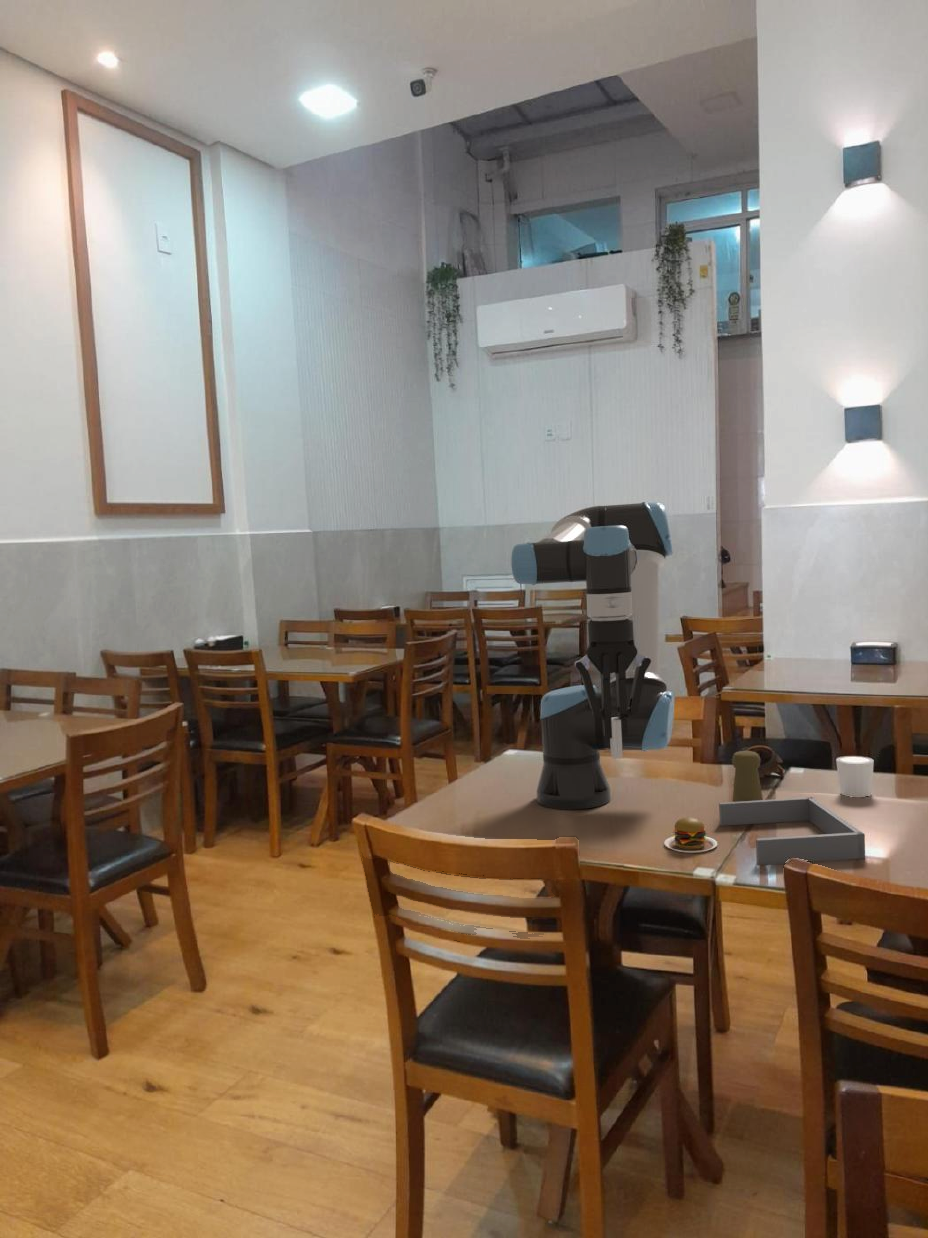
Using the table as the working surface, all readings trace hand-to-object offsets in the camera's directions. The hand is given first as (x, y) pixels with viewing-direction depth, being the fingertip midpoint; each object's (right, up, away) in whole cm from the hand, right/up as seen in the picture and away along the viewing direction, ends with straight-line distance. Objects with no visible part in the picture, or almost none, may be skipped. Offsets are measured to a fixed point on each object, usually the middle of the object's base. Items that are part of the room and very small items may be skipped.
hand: (616, 756), depth 157 cm
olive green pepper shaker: (+29, -13, +21) cm, 38 cm away
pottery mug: (+38, -11, +42) cm, 58 cm away
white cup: (+52, -12, +26) cm, 59 cm away
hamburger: (+13, -16, +2) cm, 21 cm away
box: (+29, -15, +1) cm, 33 cm away
